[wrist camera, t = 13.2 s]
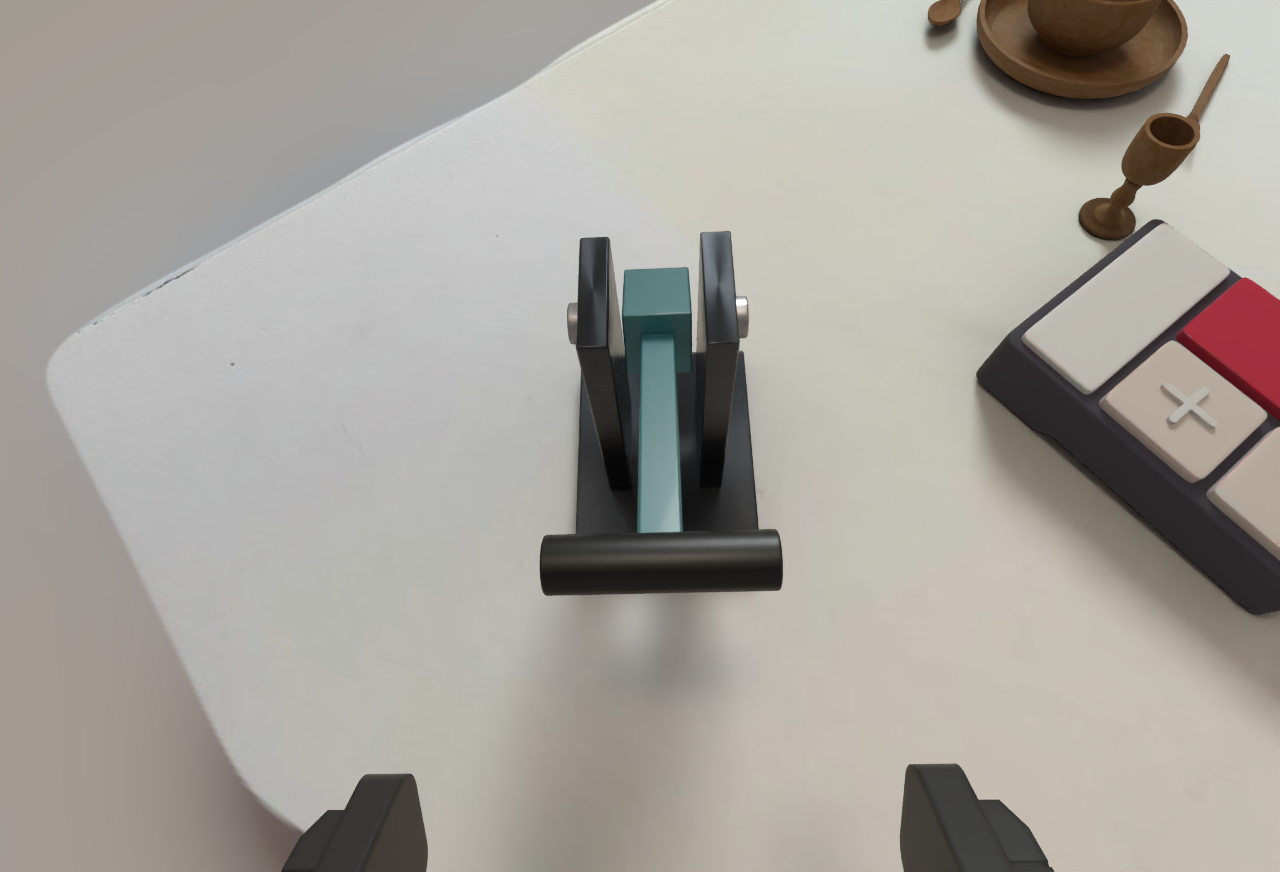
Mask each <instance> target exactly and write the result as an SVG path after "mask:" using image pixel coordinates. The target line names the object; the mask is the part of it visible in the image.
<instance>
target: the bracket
mask: <svg viewBox="0 0 1280 872" xmlns="http://www.w3.org/2000/svg"><path fill="white" fill-rule="evenodd" d="M748 325H749V314H748V301H747V298H746V296H736V292H735V280H734V268H733V256H732V244H731V233H730V231H723V232H702V233H701V234H700V258H699V290H698V322H697V352H694V353H692V371H691V372H678V373H676V378H677V403H678V427H679V451H680V476H681V500H682V524H683V532H686V531H725V530H759V527H758V515H757V504H756V492H755V480H754V468H753V457H752V445H751V433H750V422H749V410H748V398H747V386H746V375H745V363H744V352H743V351H739V343H740V340H739V338H746V337H747V335H748ZM567 327H568V336H569V340H570V343H571V344H576V350H577V355H578V359H579V363H580V367H581V389H580V420H579V451H578V482H577V513H576V534H607V533H637V519H638V458H639V398H640V374H627V370H626V358H625V350H624V343H623V335H622V328H621V320H620V313H619V305H618V298H617V290H616V283H615V275H614V268H613V260H612V253H611V245H610V239H609V238H608V237H596V238H581V239H580V249H579V276H578V303H569V305H568V309H567Z"/></svg>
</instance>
